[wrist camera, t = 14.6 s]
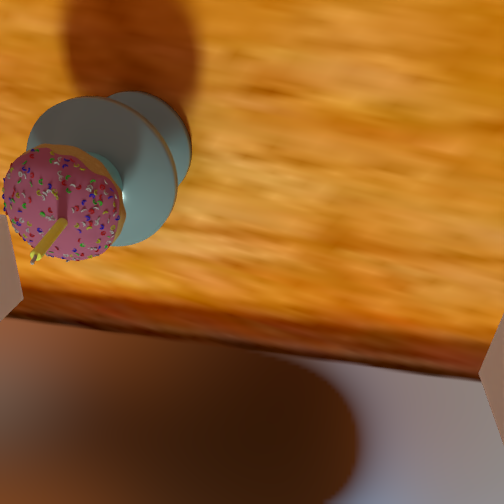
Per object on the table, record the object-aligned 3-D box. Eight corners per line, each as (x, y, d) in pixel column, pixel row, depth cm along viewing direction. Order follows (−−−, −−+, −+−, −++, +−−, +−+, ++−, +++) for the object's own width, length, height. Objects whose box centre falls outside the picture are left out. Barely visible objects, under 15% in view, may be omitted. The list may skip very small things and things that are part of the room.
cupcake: (141, 133, 34) (55, 196, 24) (149, 236, 39) (79, 328, 28) (31, 124, 35) (-96, 180, 25) (51, 225, 40) (-51, 310, 29)
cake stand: (203, 86, 40) (172, 108, 33) (201, 213, 46) (174, 255, 39) (71, 71, 42) (13, 90, 34) (85, 197, 48) (38, 235, 40)
